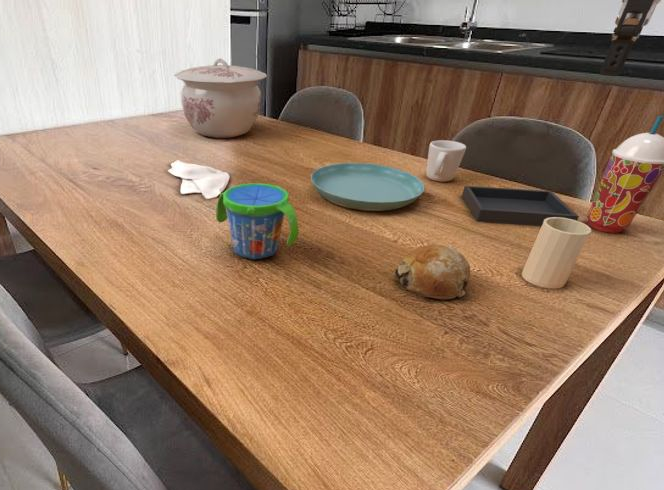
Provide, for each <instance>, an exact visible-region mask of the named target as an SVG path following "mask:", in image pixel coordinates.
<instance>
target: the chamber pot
mask: <svg viewBox="0 0 664 490" xmlns="http://www.w3.org/2000/svg"><path fill="white" fill-rule="evenodd" d="M173 75H174V77H175V78H176V79H178V80H180V81H182V83H183V86H182V89H181V91H180V103H181V107H182V110H183V111H182V112H183V115H184V117H185V119H186V120H187V122H188V123H189V125H190V127H191V128H192V129H193V130H194V132H196V133H197V134H199V135H202V136H204V137H207V138H212V139H231V138H237V137H240V136H242V135H246V133H248V132H249V131H250V130H251V129H252V128H253V126H254V124H255V122H256V121H257V119H258V118H259V114H260V110H261V104H262V91H261V88H260V86H259V83H260V81H262V80H264V79H266V78H267V76H268V75H267V73H266V72H264V71H261V70H259V69H257V68H251V67H247V66H239V65H231V64H228V63H227V62H226V60H224V59H223V58H217V59H215V61H214V62H213V64H211V65H201V66H194V67H189V68H184V69H182V70H179V71H176V73H174V74H173Z"/></svg>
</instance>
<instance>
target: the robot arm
mask: <svg viewBox="0 0 664 490" xmlns="http://www.w3.org/2000/svg"><path fill="white" fill-rule="evenodd" d="M661 1H662V0H622V1H621V2H622V4H621V7H620V9H619V11H618V13H617V15H616V18H615V22H614V24H615V25H616V27H614V28H613V33H612V35H611V44H610V46H609V48H608V51H607V53H606V55H605V58H604V61H603V63H602V65H601V68H600V70H599V75H601V76H607V77H617V76H619V75H620V74H621V72H622V70H623V68H624V65H625V64H626V61H627V59H628V57H629V54H630V53H631V50H632V47H633V46H634V43H636V41H637V40H638V39H639V37H640V35H641V33H642V31H643V28H644V27H646V26H647V25H649V23H650V21H651V18H652V16H653V14H654V12H655V10H656V7H657V5H658V4H660V3H661Z"/></svg>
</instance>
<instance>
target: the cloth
mask: <svg viewBox="0 0 664 490" xmlns="http://www.w3.org/2000/svg"><path fill="white" fill-rule="evenodd" d="M170 166H171V168H169V169H167V173H169V174H171V175H172V176H174V177H176V178H180V179H181V181H182V182H181V184H180V195H189V194H202V196H203V197H204V198H205V199H206V200H211V199H216V198H217V197H219V196H220V195H221V194H222V193H223V192H224V190H225V189H226V187H227V186H228V184H229V181H230V174H229V173H228V172H227V171H222V170H221V169H216V168H213V167H211V166H207V165H201V164H195V163H187V162H184V161H182V160H180V159H176V160H175V161H174V162H172V163H170Z"/></svg>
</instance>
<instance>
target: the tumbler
mask: <svg viewBox="0 0 664 490" xmlns="http://www.w3.org/2000/svg"><path fill="white" fill-rule="evenodd" d="M591 234H592V227H590V226H589V225H588V224H587V223H584V222H581V221H578V220H577V221H576V220H573V219H568V218H561V217H550V218H546V219H544V221H543V223H542V226H540V228H539V230H538V232H537V235H536V237H535V240H534V242H533V245H532V248H531V249H530V251H529V253H528V256H527V259H526V261H525V263H524V266H523V269H522V271H521V277H522V278H523V279H524V280H525V281H527V282H528V283H530V284H532V285H534V286H537V287H540V288H545V289H560V288H562V287H564V286H565V284H566V283H567V281H568V279H569V277H570V275H571V273H572V272H573V269H574V267H575V266H576V263H577V261H578V260H579V257H580V255H581V253H582V251H583V250H584V247H585V245H586V243H587V241H588V239H589V238H590V235H591Z"/></svg>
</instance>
